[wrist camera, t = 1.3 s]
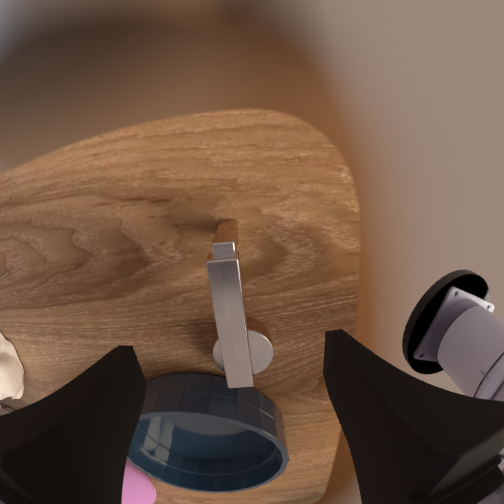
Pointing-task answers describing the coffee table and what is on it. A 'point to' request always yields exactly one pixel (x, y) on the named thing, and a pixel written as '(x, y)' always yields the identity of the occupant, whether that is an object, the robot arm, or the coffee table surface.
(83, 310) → the coffee table surface
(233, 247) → the disc with bar handle
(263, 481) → the bowl
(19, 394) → the white lumpy figure
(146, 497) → the teapot
